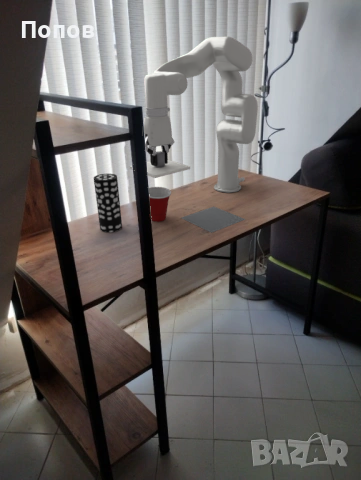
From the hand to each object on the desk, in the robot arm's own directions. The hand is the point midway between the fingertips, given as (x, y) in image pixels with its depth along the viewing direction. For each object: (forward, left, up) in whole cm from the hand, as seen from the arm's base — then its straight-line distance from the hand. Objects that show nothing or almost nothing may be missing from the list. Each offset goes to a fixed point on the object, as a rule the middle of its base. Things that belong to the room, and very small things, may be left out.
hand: (159, 163), depth 142 cm
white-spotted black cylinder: (+19, -7, -23) cm, 30 cm away
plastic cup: (+1, -1, -23) cm, 23 cm away
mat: (-15, +13, -23) cm, 30 cm away
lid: (0, 0, -2) cm, 2 cm away
